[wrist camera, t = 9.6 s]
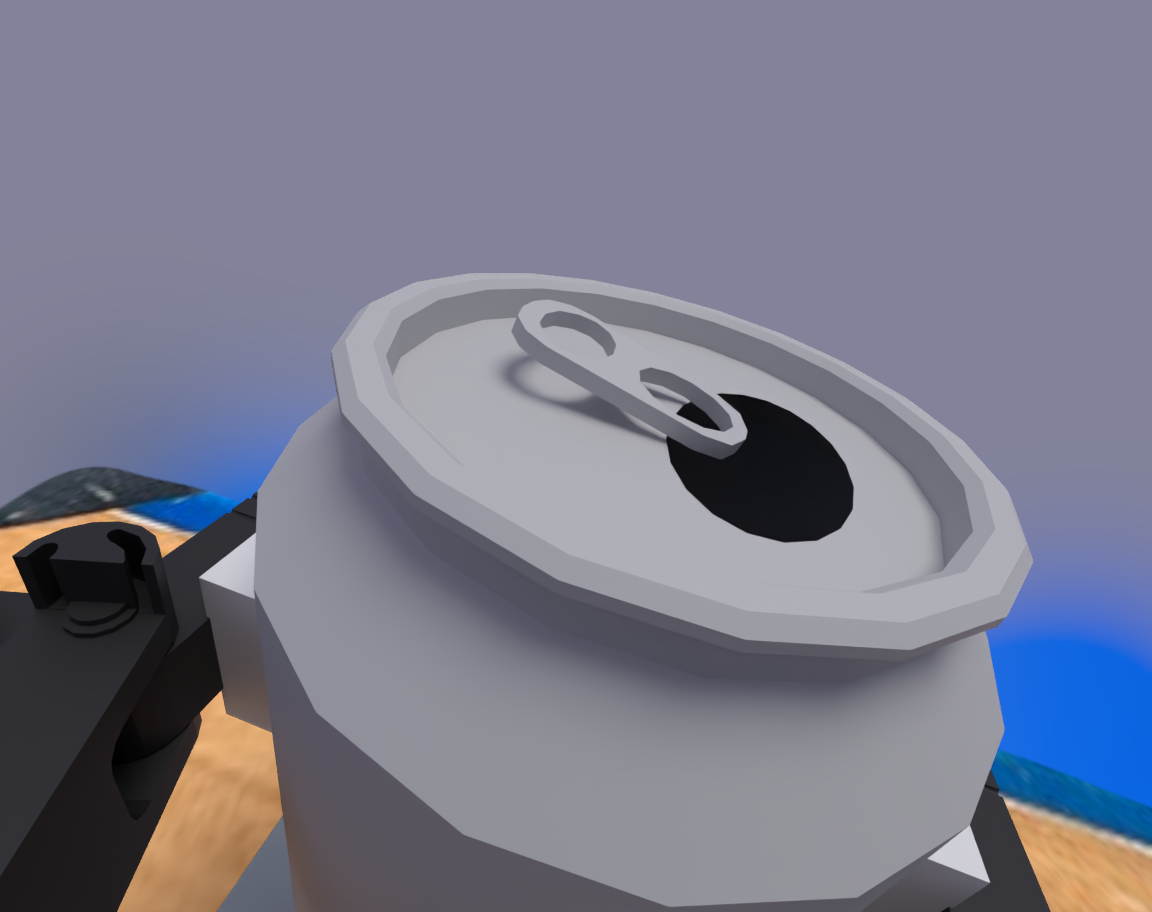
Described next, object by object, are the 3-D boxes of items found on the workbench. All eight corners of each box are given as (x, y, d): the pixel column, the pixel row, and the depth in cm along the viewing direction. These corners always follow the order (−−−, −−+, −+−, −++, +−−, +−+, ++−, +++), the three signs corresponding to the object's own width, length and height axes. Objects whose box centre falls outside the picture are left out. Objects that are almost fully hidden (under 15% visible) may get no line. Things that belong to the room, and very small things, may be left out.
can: (614, 1305, 8) (1836, 1258, 1) (198, 1007, 9) (-131, 322, 3) (698, 795, 14) (985, 370, 8) (445, 668, 15) (512, 221, 9)
